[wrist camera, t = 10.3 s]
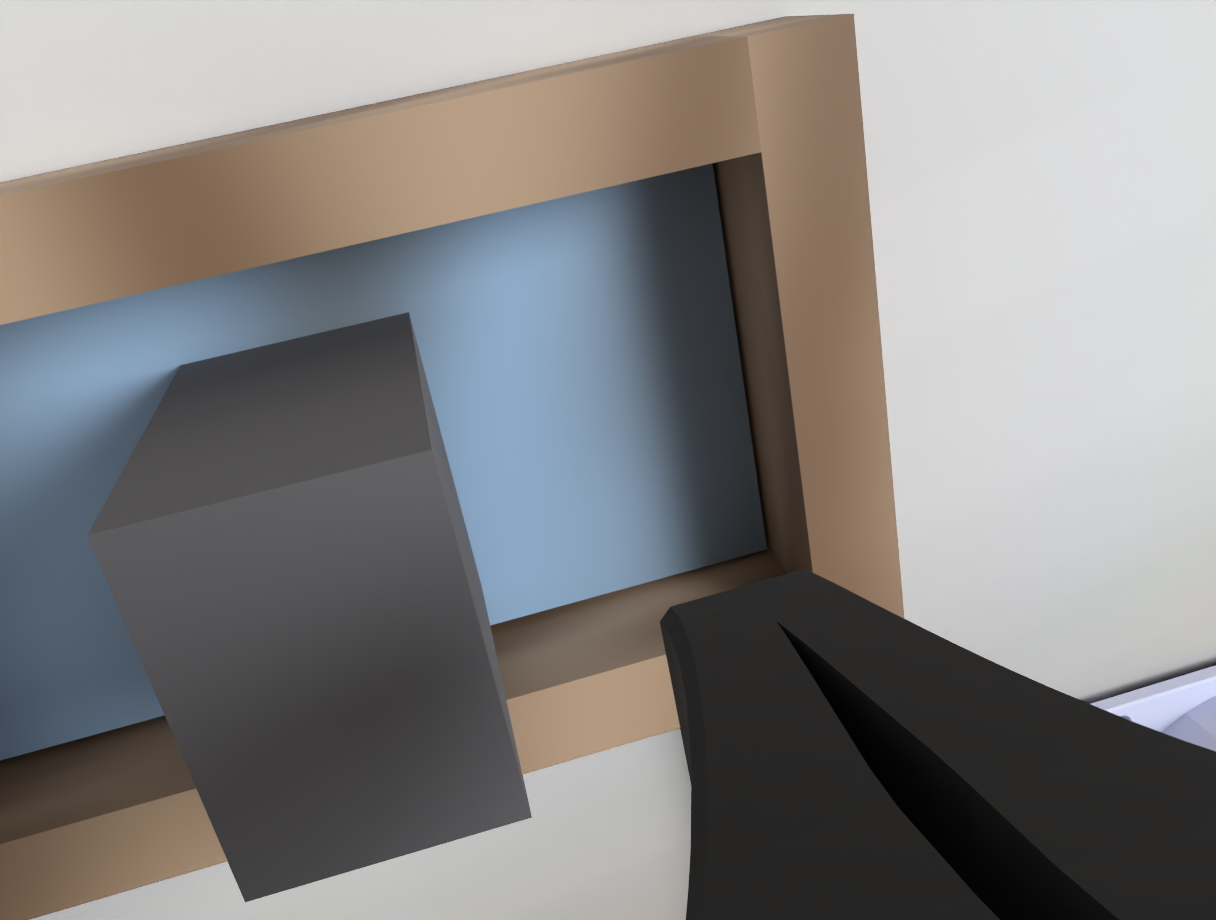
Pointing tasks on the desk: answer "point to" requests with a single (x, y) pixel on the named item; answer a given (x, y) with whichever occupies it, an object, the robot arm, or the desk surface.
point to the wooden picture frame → (458, 388)
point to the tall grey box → (313, 607)
